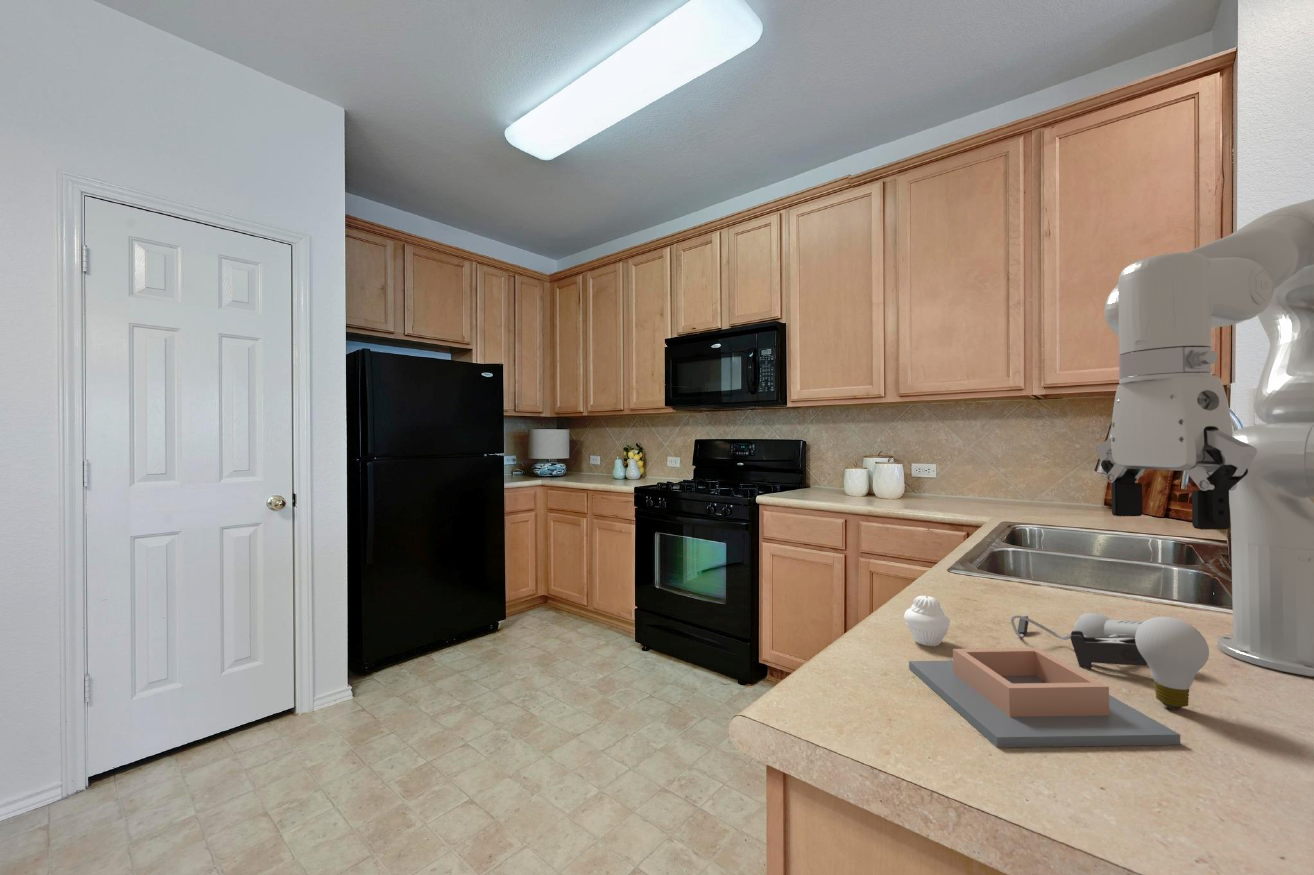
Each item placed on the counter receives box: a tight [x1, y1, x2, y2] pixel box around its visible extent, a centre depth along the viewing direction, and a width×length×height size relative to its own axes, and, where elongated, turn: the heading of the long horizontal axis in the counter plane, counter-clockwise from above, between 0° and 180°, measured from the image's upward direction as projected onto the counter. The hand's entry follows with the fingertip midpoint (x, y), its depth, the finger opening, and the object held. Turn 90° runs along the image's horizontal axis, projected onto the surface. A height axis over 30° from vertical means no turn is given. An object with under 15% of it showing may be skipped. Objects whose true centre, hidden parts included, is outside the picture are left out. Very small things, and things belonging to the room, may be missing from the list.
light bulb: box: [1135, 616, 1210, 711], centre depth 59 cm, size 6×6×10 cm
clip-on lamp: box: [1010, 612, 1148, 670], centre depth 75 cm, size 12×6×18 cm
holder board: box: [908, 647, 1181, 748], centre depth 61 cm, size 18×18×4 cm
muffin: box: [903, 594, 951, 647], centre depth 79 cm, size 6×6×7 cm
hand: (1165, 521), depth 59 cm, fingers open, 9 cm apart
